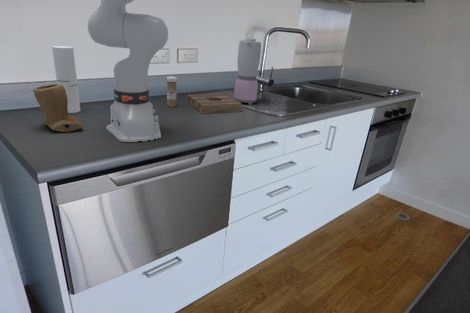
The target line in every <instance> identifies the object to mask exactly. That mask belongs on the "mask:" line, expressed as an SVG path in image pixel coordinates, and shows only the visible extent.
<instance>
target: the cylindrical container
mask: <svg viewBox="0 0 470 313" xmlns="http://www.w3.org/2000/svg"><path fill="white" fill-rule="evenodd" d="M51 50H52V56H53V63H54V64H53V65H54V70H55V76H56V78H55V80H56V84H62V85H63V86H64V88H65V91H66V95H67V99H68V105H67V108H68V114H75V113H79V112H81V104H80V97H79V94H80V93H79V88H78V86H79V85H78V77H77V71H76V70H77V69H76V61H75V60H76V58H75V53H74V52H75V51H74V47H73V46H67V45H53V46H51Z"/></svg>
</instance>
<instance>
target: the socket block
mask: <svg viewBox="0 0 470 313" xmlns="http://www.w3.org/2000/svg"><path fill="white" fill-rule="evenodd" d="M186 103H187V104H188V105H189V106H190V107H192V108H193V109H195V110H196V111H197V112H198V113H200V114H201V115H205V114H207V113H209V114H221V113H222V114H223V113H224V112H226V113H239V111H241V112H242V104H243V102H238V101H236V100H234V97H233V98H232V97H231V96H228V95H227V94H225V93H208V94H207V93H206V94H205V93H204V94H203V93H202V94H187V95H186ZM224 114H225V113H224Z"/></svg>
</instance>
